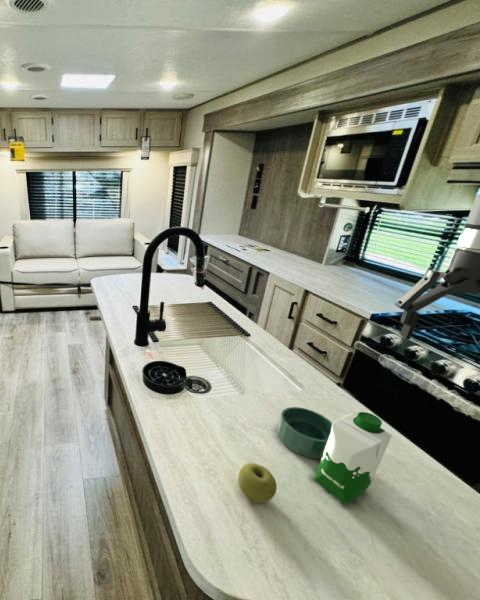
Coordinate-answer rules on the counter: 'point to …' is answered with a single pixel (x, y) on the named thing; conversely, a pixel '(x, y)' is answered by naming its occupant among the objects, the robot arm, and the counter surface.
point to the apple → (257, 483)
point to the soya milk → (352, 455)
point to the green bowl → (304, 431)
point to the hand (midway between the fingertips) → (443, 341)
